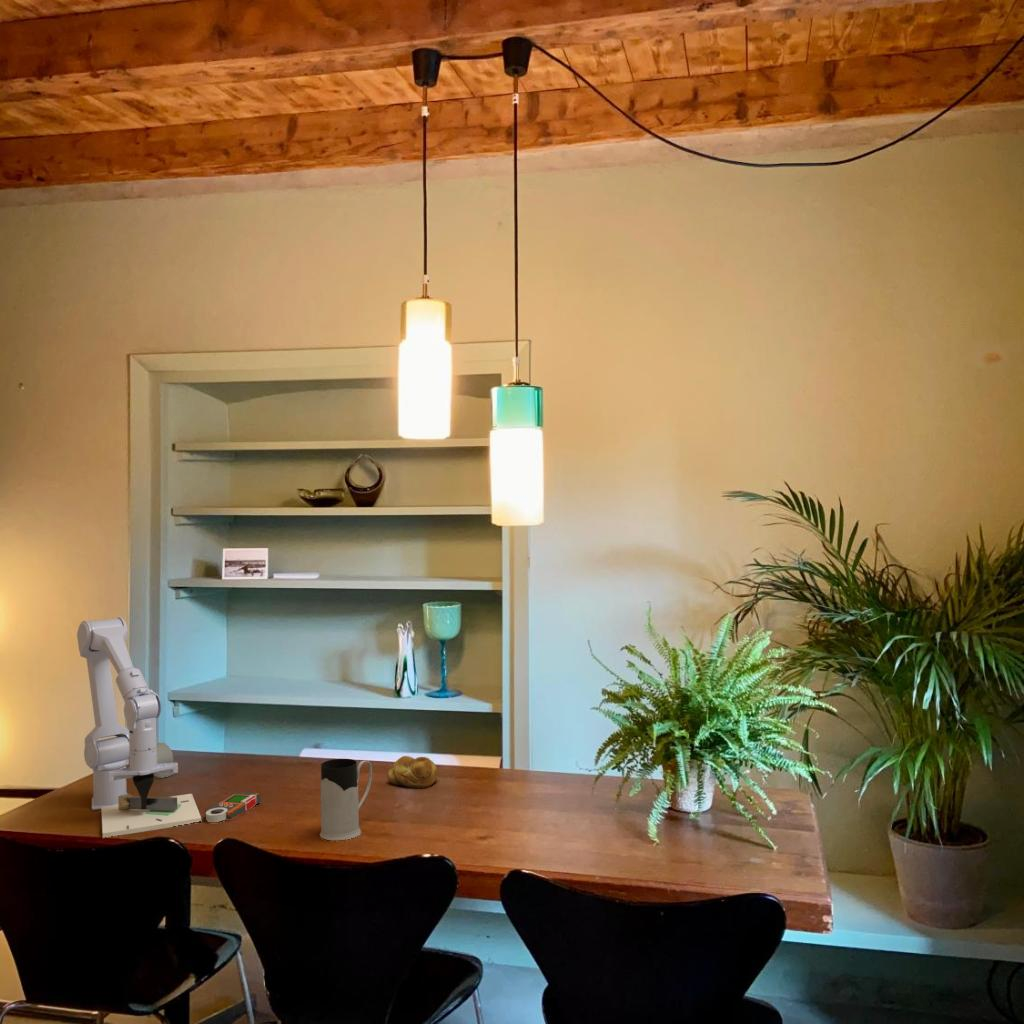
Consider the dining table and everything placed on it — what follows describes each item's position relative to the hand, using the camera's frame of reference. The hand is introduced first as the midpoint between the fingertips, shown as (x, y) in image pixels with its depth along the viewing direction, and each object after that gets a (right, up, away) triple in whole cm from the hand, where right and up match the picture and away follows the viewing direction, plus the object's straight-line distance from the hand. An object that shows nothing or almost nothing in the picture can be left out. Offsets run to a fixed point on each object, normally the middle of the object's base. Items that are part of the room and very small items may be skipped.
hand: (144, 808), depth 202 cm
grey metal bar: (0, -1, +2) cm, 2 cm away
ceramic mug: (-11, -3, +36) cm, 37 cm away
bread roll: (+58, -2, +23) cm, 63 cm away
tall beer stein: (+48, -2, -10) cm, 50 cm away
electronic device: (+19, -3, +3) cm, 19 cm away
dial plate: (+1, -2, +1) cm, 3 cm away
